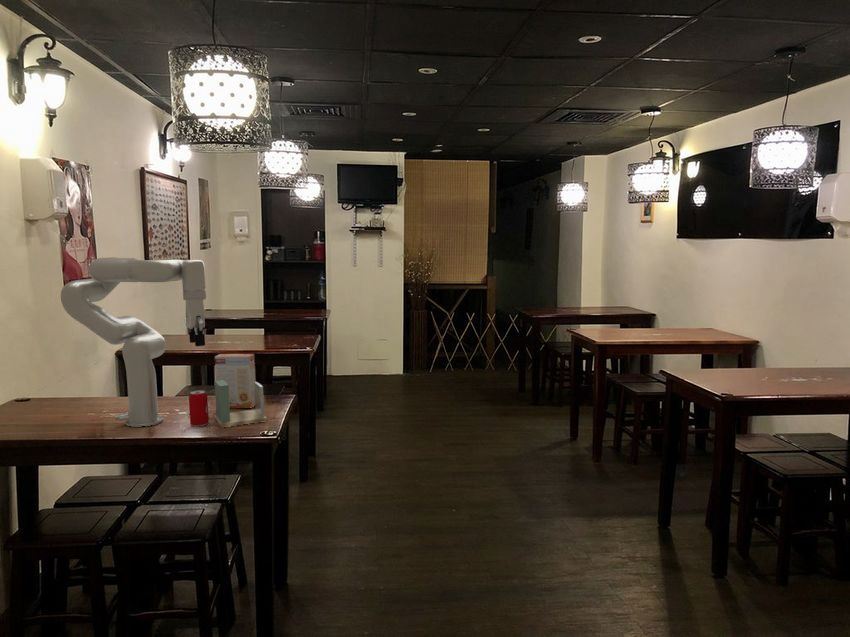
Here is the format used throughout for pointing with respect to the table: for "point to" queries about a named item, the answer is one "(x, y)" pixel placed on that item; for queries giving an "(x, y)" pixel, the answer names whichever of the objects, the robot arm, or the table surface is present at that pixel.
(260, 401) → the grey metal plate
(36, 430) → the table surface
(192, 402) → the beverage can
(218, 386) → the grey green slab
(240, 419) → the shelf board
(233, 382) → the cracker box
